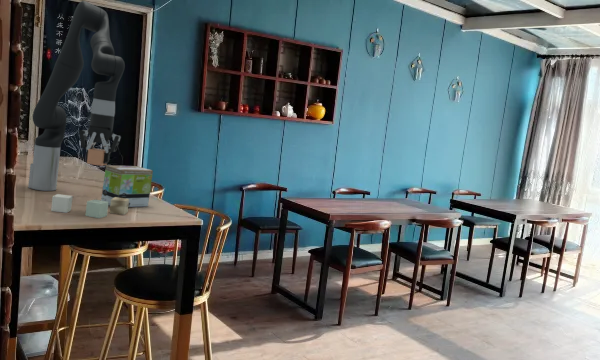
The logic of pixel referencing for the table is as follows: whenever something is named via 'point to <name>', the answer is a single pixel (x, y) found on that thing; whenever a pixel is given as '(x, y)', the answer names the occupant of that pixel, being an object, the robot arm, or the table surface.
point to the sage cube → (96, 208)
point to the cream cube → (61, 203)
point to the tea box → (127, 184)
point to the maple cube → (119, 205)
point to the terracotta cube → (96, 157)
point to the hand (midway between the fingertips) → (97, 162)
